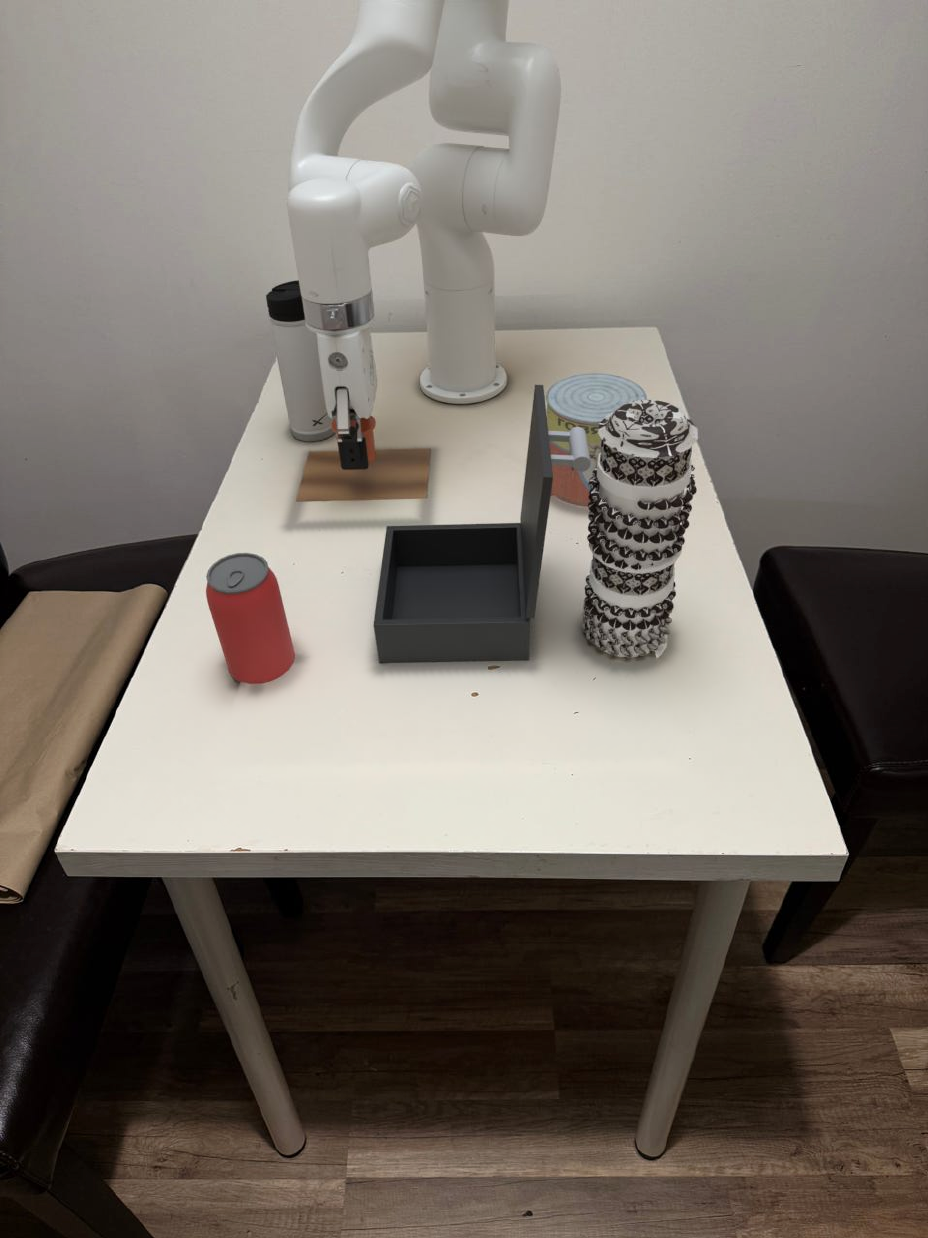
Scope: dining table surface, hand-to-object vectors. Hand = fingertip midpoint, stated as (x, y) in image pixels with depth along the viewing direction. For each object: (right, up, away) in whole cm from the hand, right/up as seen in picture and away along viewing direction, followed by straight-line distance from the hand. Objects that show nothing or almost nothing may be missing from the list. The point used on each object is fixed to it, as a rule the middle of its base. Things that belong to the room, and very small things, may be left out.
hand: (357, 453), depth 107 cm
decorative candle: (+29, -22, -18) cm, 41 cm away
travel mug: (-7, +6, +14) cm, 17 cm away
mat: (0, -3, +3) cm, 5 cm away
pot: (0, 0, 0) cm, 0 cm away
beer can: (-7, -25, -19) cm, 32 cm away
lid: (+19, -9, -24) cm, 32 cm away
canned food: (+28, -4, +2) cm, 29 cm away
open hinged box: (+12, -19, -15) cm, 27 cm away
